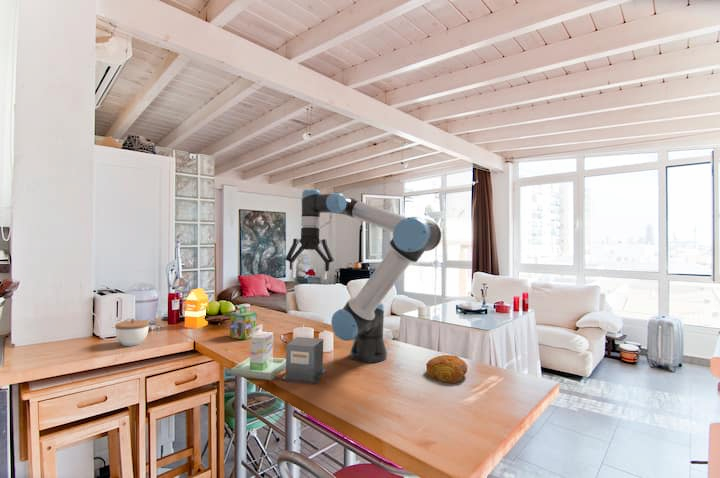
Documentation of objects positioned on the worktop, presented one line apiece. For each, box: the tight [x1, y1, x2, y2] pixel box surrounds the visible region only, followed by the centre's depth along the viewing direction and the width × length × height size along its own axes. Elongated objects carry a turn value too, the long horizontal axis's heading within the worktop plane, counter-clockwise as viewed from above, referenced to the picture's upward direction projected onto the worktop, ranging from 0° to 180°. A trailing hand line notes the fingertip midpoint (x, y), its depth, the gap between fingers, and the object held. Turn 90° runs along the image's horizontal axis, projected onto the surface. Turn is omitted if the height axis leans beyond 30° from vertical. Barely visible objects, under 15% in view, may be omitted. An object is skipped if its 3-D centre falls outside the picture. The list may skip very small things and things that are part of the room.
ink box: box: [249, 323, 274, 371], centre depth 130 cm, size 9×5×15 cm, turn 168°
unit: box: [281, 336, 327, 385], centre depth 125 cm, size 12×12×12 cm
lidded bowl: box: [114, 318, 150, 347], centre depth 158 cm, size 13×13×11 cm
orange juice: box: [184, 287, 209, 329], centre depth 193 cm, size 8×9×20 cm
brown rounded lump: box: [425, 354, 468, 384], centre depth 130 cm, size 14×16×8 cm
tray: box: [230, 356, 286, 381], centre depth 130 cm, size 15×15×2 cm
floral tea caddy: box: [229, 305, 258, 341], centre depth 174 cm, size 9×9×15 cm
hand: (308, 278), depth 148 cm, fingers open, 13 cm apart
